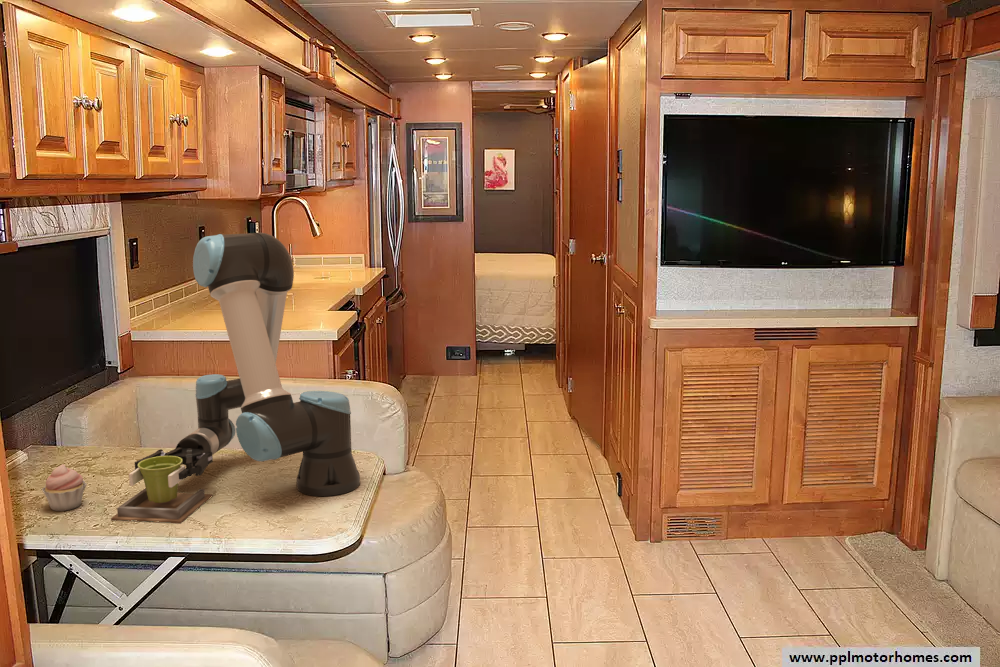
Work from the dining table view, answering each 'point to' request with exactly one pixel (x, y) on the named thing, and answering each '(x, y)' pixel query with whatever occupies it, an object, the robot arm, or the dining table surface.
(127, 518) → the keeper bracket
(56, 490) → the cupcake
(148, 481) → the plant pot
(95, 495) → the dining table surface
